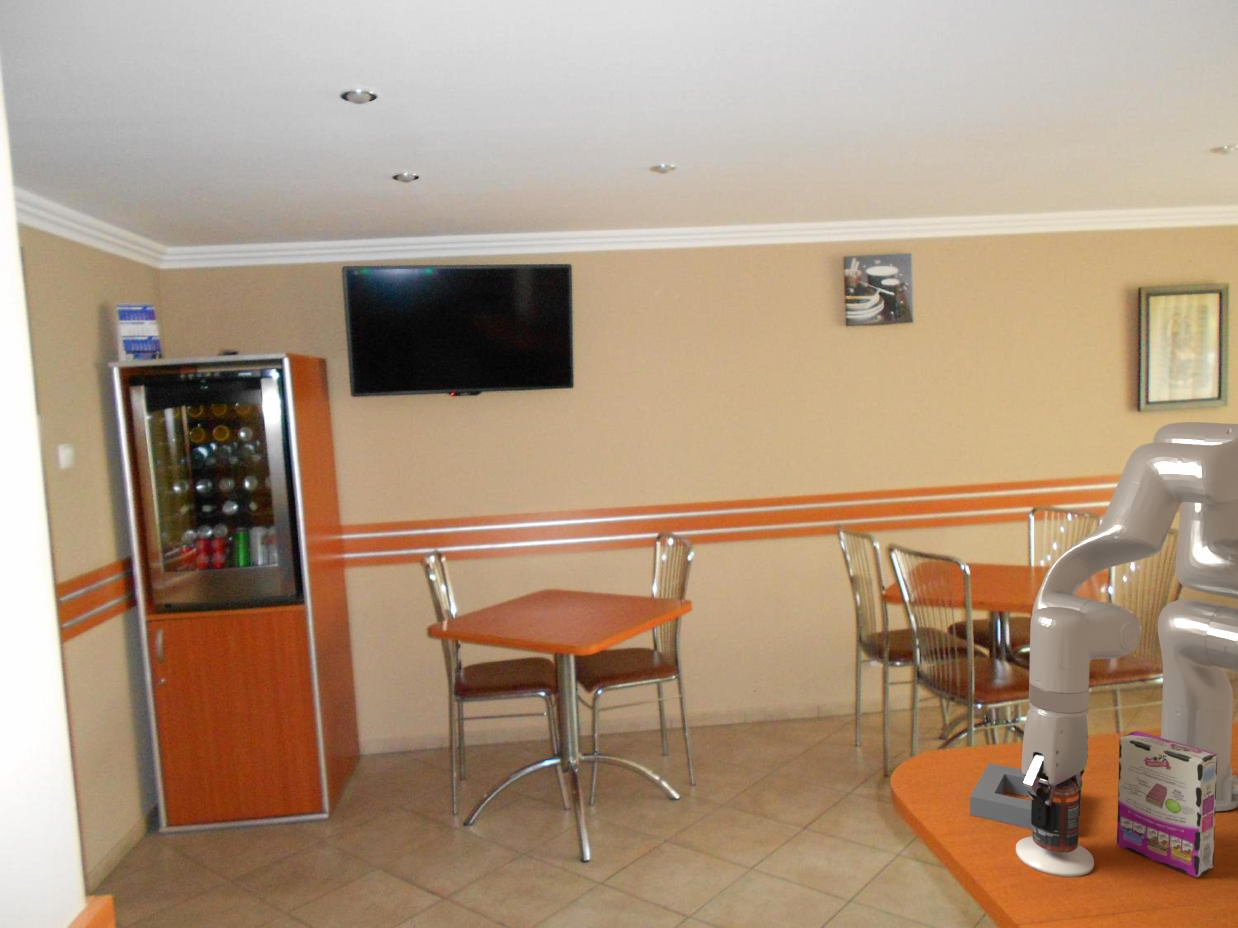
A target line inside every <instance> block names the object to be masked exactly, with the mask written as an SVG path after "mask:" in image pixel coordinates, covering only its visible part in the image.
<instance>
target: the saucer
mask: <svg viewBox="0 0 1238 928" xmlns="http://www.w3.org/2000/svg"><path fill="white" fill-rule="evenodd" d="M1015 854H1016V857H1017V858H1018V860H1020V861H1021V862H1022V863H1023V864H1025V865H1026V866H1027V867H1030V868H1031V869H1034V870H1036V871H1037V872H1041V873H1044V874H1047V875H1052V876H1056V877H1063V878H1065V877H1067V878H1068V877H1069V878H1074V877H1081V876H1085V875H1088V874H1089V873H1091V872H1092V871H1093V870H1094V867H1095V860H1094V856H1093V855H1092V853H1090V851H1088V849H1086V848H1085V847H1083V846H1081V845H1079V844H1078V847H1077V848H1076V849H1075V850H1073V851H1071V852H1067V853H1060V852H1053V851H1048V850H1046V849H1044V848H1041V847H1040V846H1038V845H1037V844H1036V843H1035V842H1034V841H1033V838H1032V835H1031V836H1030V835H1029V836H1026V837H1023V838H1021V839H1019V840H1018V841H1017V842H1016V845H1015Z"/></svg>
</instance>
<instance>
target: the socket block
mask: <svg viewBox="0 0 1238 928" xmlns="http://www.w3.org/2000/svg"><path fill="white" fill-rule="evenodd" d="M1025 778H1026V776H1024V775H1023V774H1022V768H1021V769H1020V768H1015V767H1011V766H1004V765H1000V764H995V763H988V764H987V766H986V768H985V769H984V771H983V773H982V775H981V777H980V778H979V780H978V782H977V783H976V785H975V787H974V789H973V790H972V792H971V794H970V796H969V815H970V816H974V817H978V818H983V819H986V820H991V821H995V822H999V823H1004V824H1007V825H1013V826H1017V827H1020V828H1025V829H1029V830H1032V824H1031V805H1032V800H1028V799H1024V798H1018V797H1014V796H1010V795H1006V794H1004V793H1005V792H1006V793H1011V794H1016V795H1020V796H1025V797H1028V798H1030V794H1029V793H1028V790H1027V789H1026V788H1025V787H1024V785H1023V783H1024V780H1025ZM1079 790H1081V791H1082V788H1081V789H1079ZM1081 801H1082V794H1081V795H1080V803H1081Z"/></svg>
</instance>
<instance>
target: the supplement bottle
mask: <svg viewBox="0 0 1238 928" xmlns="http://www.w3.org/2000/svg"><path fill="white" fill-rule="evenodd" d="M1040 778H1043V779H1046V780H1048V776H1046V775H1044V774H1041V777H1040ZM1071 778H1072V777H1071ZM1071 778H1069V779H1067V780H1065V781H1063V782H1061V783H1059V784H1057V785H1056V790H1055V795H1054V799H1053V804H1055V805H1056V822H1055V831H1054V832H1052V833H1051V832H1048V831H1045V830H1043V829H1040V828H1038V827H1035V826H1033V825H1032V829H1031V831H1032V835H1031V836H1032V838H1033V841H1034V842H1035V843H1036V844H1037V845H1038V846H1040V847H1041V848H1044V849H1046V850H1048V851H1053V852H1060V853H1067V852H1071V851H1073V850H1075V849H1076V848H1077V847H1078V845H1079V840H1080V839H1079V832H1080V831H1079V824H1080V823H1079V820H1080V818H1079V817H1080V816H1079V789H1078V786H1077V785H1076V784H1075V783H1074V782H1073V781H1072V780H1071ZM1040 788H1042V789H1043V790H1044V791H1045V792H1046V794H1047V789H1048V785H1045V784H1043V783H1040Z"/></svg>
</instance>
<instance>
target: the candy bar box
mask: <svg viewBox="0 0 1238 928" xmlns="http://www.w3.org/2000/svg"><path fill="white" fill-rule="evenodd" d="M1118 744H1119V745H1118V746H1119V748H1118V749H1119V750H1118V785H1117V786H1118V787H1117V788H1118V789H1117V790H1118V791H1117V819H1116V820H1117V822H1116V825H1117V828H1116V846H1117V847H1118V848H1121V849H1123V850H1127V851H1129V852H1131V853H1134V854H1136V855H1139V856H1140V857H1144V858H1146V859H1147V860H1150V861H1153V862H1156V863H1159V864H1161V865H1164V866H1166V867H1168V868H1171V869H1174V870H1176V871H1179V872H1181V873H1184V874H1186V875H1189V876H1191V877H1194V878H1197V879H1198V878H1200V877H1201V876H1203V875H1204V874H1207V872H1209V871H1211V870H1212V869H1213V868H1214V863H1215V860H1214V859H1215V835H1216V834H1215V831H1216V829H1215V828H1216V811H1215V805H1216V777H1217V754H1215V753H1211V752H1208V751H1204V750H1201V749H1198V748H1194V747H1191V746H1188V745H1184V744H1181V743H1177V742H1174V741H1170V740H1167V739H1163V738H1161V736H1160V737H1159V736H1156V735H1153V734H1150V733H1149V734H1148V733H1145V732H1142V731H1138V730H1135V731H1132V732H1130V733H1128V734H1126V735H1123V736H1121V737H1119V743H1118Z"/></svg>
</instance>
